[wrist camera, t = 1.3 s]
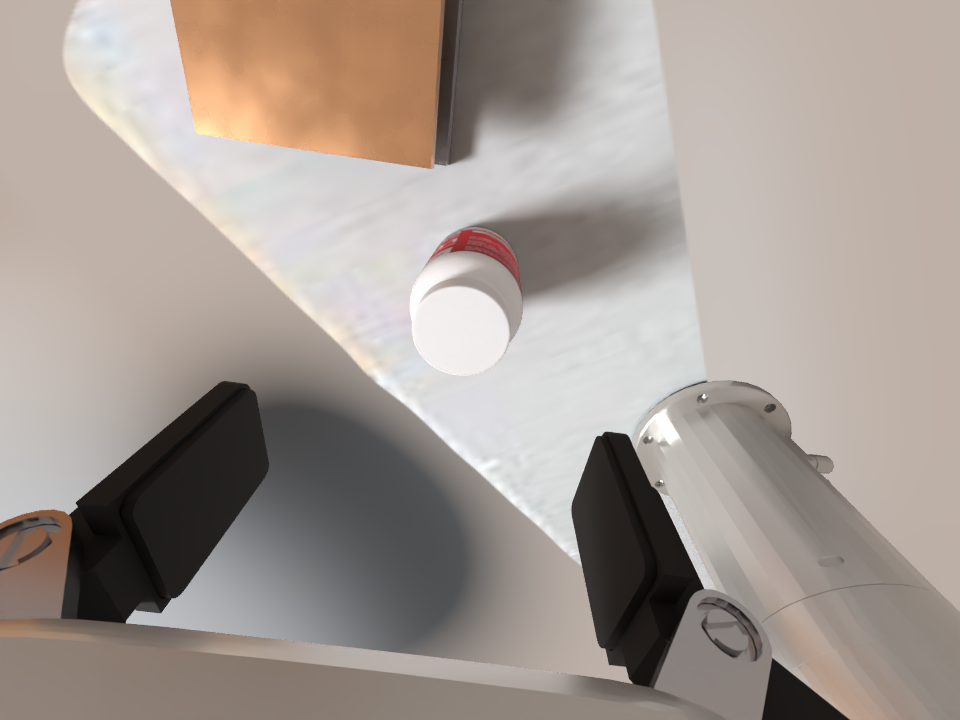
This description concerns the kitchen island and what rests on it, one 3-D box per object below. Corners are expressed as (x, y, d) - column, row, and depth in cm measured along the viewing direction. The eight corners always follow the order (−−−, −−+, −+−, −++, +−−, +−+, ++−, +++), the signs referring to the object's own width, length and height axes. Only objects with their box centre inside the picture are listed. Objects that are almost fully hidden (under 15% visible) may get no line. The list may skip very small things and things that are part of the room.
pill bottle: (454, 208, 25) (425, 242, 16) (533, 251, 27) (552, 307, 17) (419, 288, 28) (377, 358, 19) (492, 323, 29) (488, 407, 20)
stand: (469, -81, 19) (453, -198, 13) (449, 164, 24) (430, 168, 18) (248, -117, 19) (120, -255, 12) (276, 138, 24) (196, 133, 18)
